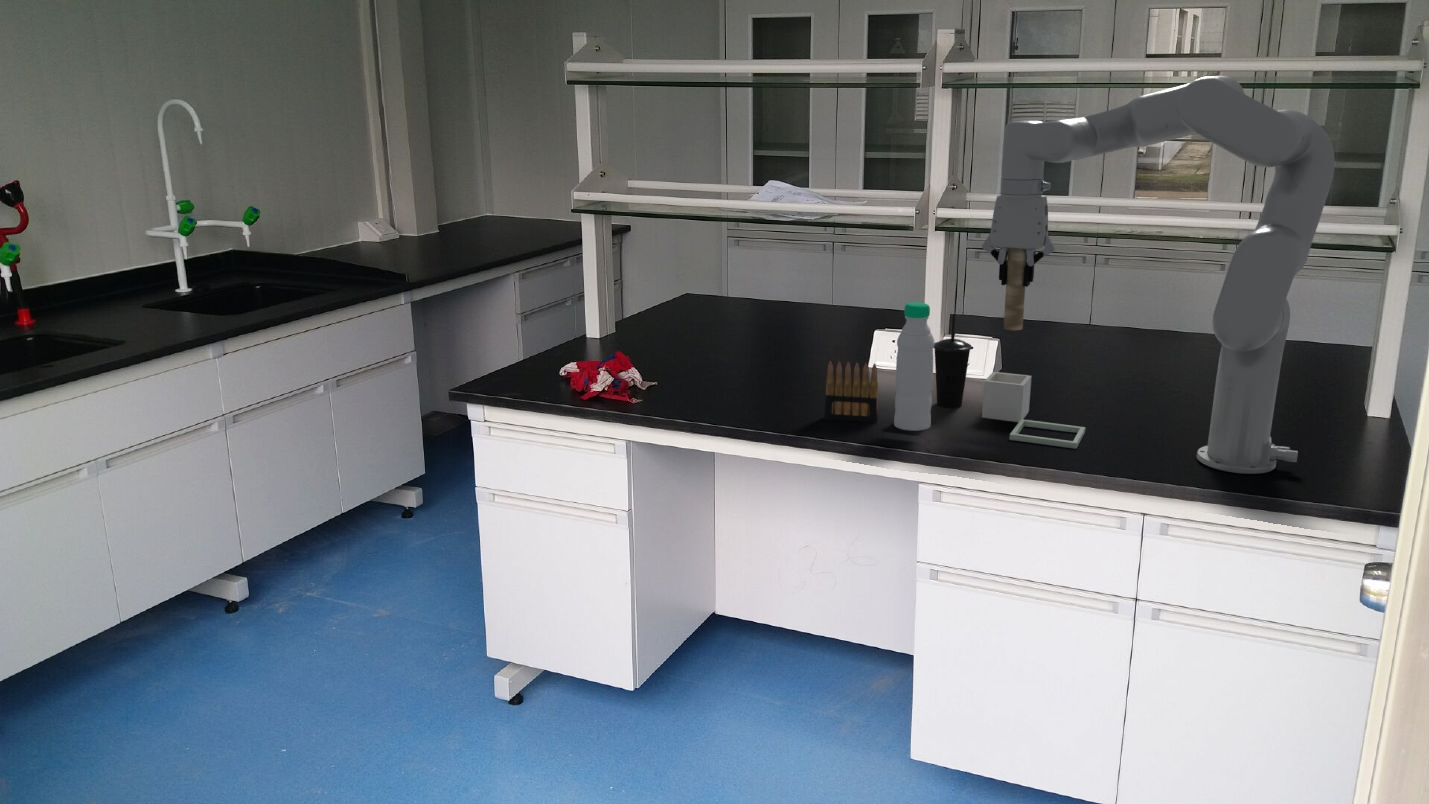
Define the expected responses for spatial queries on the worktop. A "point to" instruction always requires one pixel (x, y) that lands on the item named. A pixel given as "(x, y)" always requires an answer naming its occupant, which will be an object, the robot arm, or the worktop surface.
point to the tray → (1047, 441)
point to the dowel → (1015, 289)
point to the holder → (1006, 396)
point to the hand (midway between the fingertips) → (1015, 283)
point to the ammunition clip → (851, 395)
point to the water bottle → (914, 370)
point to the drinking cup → (951, 369)
